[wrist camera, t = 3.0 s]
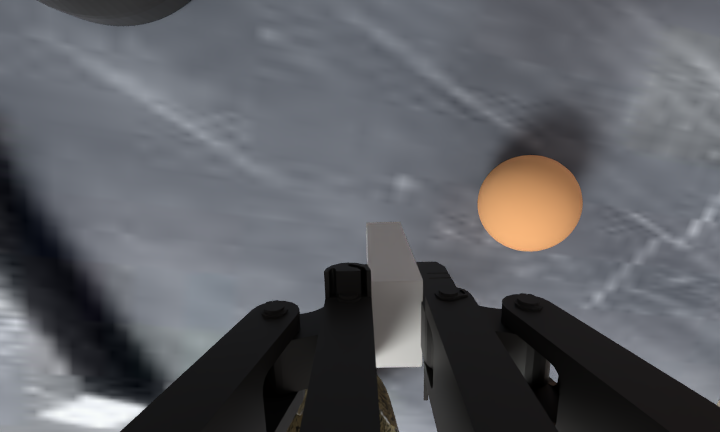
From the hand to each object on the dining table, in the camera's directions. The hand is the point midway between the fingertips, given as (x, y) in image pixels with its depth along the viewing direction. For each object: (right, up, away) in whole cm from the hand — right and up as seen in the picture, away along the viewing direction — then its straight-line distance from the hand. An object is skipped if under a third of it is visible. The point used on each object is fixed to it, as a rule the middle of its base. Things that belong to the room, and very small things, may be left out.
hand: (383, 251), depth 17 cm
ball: (+9, +2, +7) cm, 12 cm away
